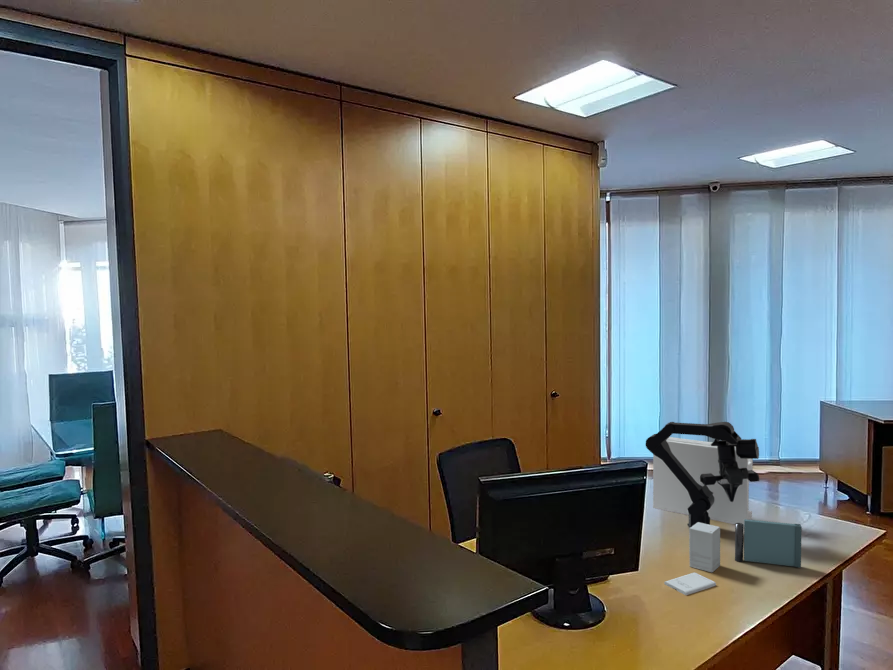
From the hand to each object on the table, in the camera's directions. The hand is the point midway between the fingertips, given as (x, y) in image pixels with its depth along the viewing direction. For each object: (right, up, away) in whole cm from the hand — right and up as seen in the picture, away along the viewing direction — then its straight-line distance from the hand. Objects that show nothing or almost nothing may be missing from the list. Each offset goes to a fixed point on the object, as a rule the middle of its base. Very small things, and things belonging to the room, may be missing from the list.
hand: (731, 501), depth 226 cm
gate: (+2, -13, -24) cm, 28 cm away
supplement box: (-20, -14, -25) cm, 35 cm away
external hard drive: (-29, -16, -37) cm, 50 cm away
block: (-2, -11, +22) cm, 25 cm away
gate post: (-7, -14, -21) cm, 26 cm away
